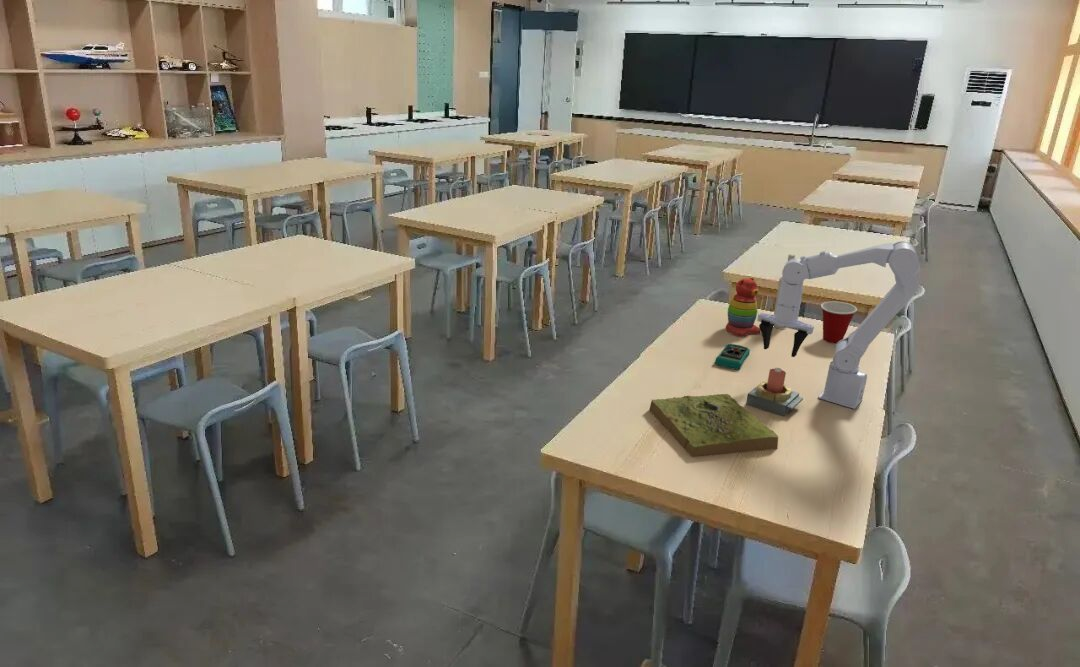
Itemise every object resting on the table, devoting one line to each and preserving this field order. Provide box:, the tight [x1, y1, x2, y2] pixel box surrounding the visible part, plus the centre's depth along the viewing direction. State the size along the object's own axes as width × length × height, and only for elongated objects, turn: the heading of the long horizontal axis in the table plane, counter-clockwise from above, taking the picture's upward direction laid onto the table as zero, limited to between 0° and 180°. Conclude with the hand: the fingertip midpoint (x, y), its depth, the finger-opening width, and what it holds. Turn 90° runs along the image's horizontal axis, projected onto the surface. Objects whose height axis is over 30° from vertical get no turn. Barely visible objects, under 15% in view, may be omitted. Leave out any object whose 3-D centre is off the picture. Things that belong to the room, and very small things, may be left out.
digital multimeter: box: [714, 343, 751, 371], centre depth 217 cm, size 7×15×3 cm, turn 154°
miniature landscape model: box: [648, 393, 779, 458], centre depth 174 cm, size 22×24×5 cm
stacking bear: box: [725, 277, 762, 338], centre depth 239 cm, size 11×10×18 cm
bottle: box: [773, 253, 796, 329], centre depth 243 cm, size 5×5×25 cm
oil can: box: [766, 367, 787, 393], centre depth 187 cm, size 4×4×7 cm
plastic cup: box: [820, 300, 858, 345], centre depth 235 cm, size 11×11×12 cm
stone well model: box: [745, 381, 804, 417], centre depth 188 cm, size 11×10×4 cm
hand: (779, 352), depth 197 cm, fingers open, 7 cm apart
